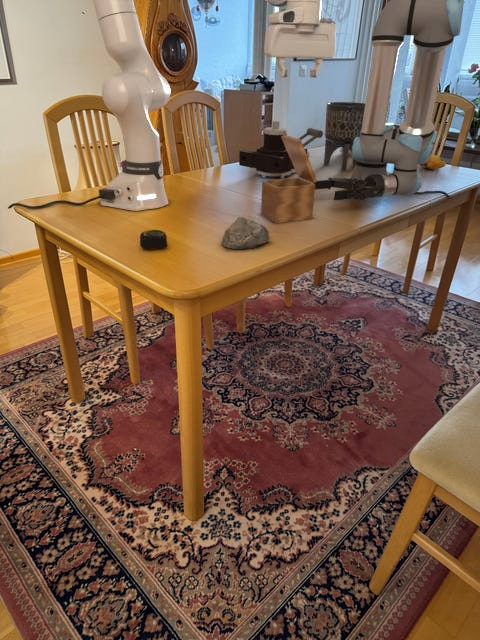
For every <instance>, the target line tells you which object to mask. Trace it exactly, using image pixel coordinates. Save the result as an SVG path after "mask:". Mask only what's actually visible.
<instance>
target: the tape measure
mask: <svg viewBox="0 0 480 640" xmlns="http://www.w3.org/2000/svg"><path fill="white" fill-rule="evenodd" d="M167 236H168V235H167V234H166V232H165V231H164V230H161V229H147V230H144V231H143V232H141V233H140V235H139V240H140V241H139V245H140V246H139V247H141V248H142V249H146V250H157V249H167V248H168V240H167V239H168V237H167Z"/></svg>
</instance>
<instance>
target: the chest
mask: <svg viewBox="0 0 480 640" xmlns="http://www.w3.org/2000/svg"><path fill="white" fill-rule="evenodd" d="M261 183H262V184H261V207H260V215H261V216H263V217H264V218H266V219H267V220H269V221H270V222H272V223H274V224H279V223H280V224H282V223H287V222H295V221H303V220H310V219H311V220H312V219H313V214H314V213H313V211H314V202H315V192H316V190H315V184H313V183H312V182H310V181H308V180H305V179H303V178H301V177H291V178H290V177H289V178H279V179H270V180H269V179H266V180H262V182H261Z"/></svg>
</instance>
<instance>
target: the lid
mask: <svg viewBox="0 0 480 640" xmlns="http://www.w3.org/2000/svg"><path fill="white" fill-rule="evenodd" d="M308 136H310V137H311V138H309V139H308V140H306V141H305V142H302V140H303V139H305V138H307V137H308ZM323 136H324V132H323V130H321V129H316V128H313V127H308V128H307V129H306V132H305V133H303V135H301V136H300V137H298V138H297V137H293V136H290V135H288V134H287V135H283V136H282V137H281V138H282V140H283V143H284V145H285V147H286V150H287V152H288V154H289V157H290V159H291V161H292V164H293V166H294V168H295V171H296V175H297V178H301V179H304V180H306V181H308V182H311V183H315V182H317V181H318V179H317V177H316V175H315V171H314V168H313V167H312V164H311V162H310V159H309V158H308V156H307V154H306V151H305V149H306V146H308V145H309V144H310V143H312V142H314V141H315V140H316V139H321V138H322V137H323ZM304 148H305V149H304Z"/></svg>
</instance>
